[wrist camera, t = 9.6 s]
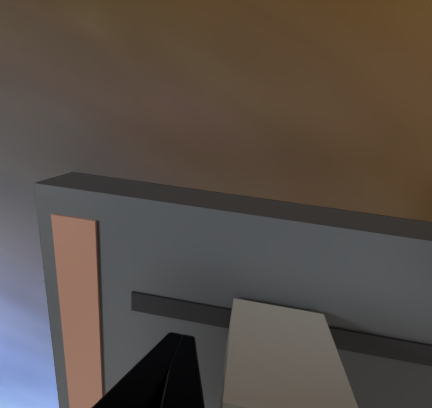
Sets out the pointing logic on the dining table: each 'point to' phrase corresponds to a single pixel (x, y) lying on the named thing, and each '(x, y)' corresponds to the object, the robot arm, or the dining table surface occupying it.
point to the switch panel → (227, 282)
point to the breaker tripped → (282, 360)
